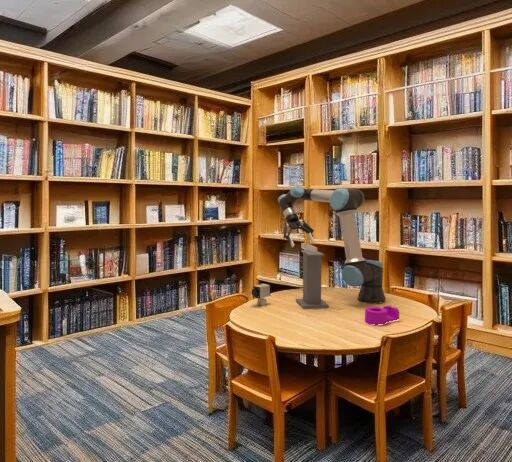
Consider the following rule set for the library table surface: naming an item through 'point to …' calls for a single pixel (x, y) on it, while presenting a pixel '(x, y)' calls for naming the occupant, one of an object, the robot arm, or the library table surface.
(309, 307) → the stand
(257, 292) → the grey camera
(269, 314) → the library table surface
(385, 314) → the tape dispenser
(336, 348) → the library table surface
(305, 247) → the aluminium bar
